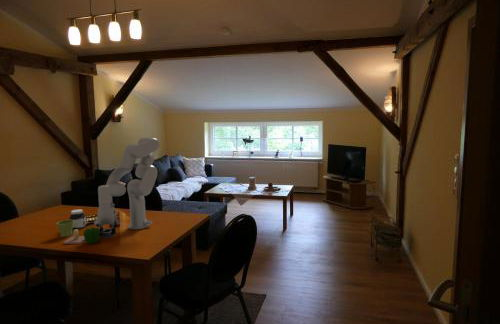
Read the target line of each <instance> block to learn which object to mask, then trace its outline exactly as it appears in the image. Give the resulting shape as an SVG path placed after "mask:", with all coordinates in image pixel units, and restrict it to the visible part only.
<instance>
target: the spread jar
mask: <svg viewBox="0 0 500 324" xmlns="http://www.w3.org/2000/svg"><path fill="white" fill-rule="evenodd" d="M70 213H71V214H70V215H69V218H68V220H74V222H73V228H72V230H75V229H78V230H82V229H84V228H85V227H86V225H87V217H86V214H85V213H84V212H83V209H73V210H70Z"/></svg>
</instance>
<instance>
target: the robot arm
mask: <svg viewBox="0 0 500 324" xmlns="http://www.w3.org/2000/svg"><path fill="white" fill-rule="evenodd" d="M159 148H160V141H159V140H158V139H157V138H156V137H141V138H138V141H137V144H132V143H131V144H128V145H126V147H125V148H124V151H123V152H122V156H121V159H120V160H119V163H118V166H116V168H114V170H113V171H112V172H111V173H110V174H109V175H108V179H107V181H106V184H103V185H99V186H98V188H97V195H98V209H97V217H96V219H95V220H94V221H93V225H95V226H96V228H98V229H99V233H100V232H101V231H103V230H104V225H110V226H111V228H112V235H113V236H115V235H116V234H115V232H116V233H117V230H116V231H115V228H117V227H118V225H119V224H120V223H121V220H119V219H118V218H117V213H116V208H115V207H116V206H115V203H113V197H121V196H123V195H125V194H126V192H127V194H128V199H129V217H130V224H128V226H127V227H128V229H130V230H142V229H145V228H146V229H147V228H148V227H149V225H152V224H153V220H148V219H147V218H146V199H145V196H146V197H147V196H148V195H150V194H151V192H152V191H153V189H154V185H155V183H156V180H157V177H158V169H157V167H156V166H155V165H153V164H154V160H155V153H154V152H156V151H158V149H159ZM137 159H139V162H138V163H137V166H136V169H135V173H134V174H135V176H136V179H132V180H130V181H129V182H128V184H127V185H124V184H123V183H119V182H120V180H121V179H122V177H124V176H125V175H126V174H128V173H130V172H131V171H133V168H134V165H135V163H136V160H137ZM137 178H139V179H137ZM140 179H141V180H140ZM126 186H127V187H126ZM114 234H115V235H114Z"/></svg>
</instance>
